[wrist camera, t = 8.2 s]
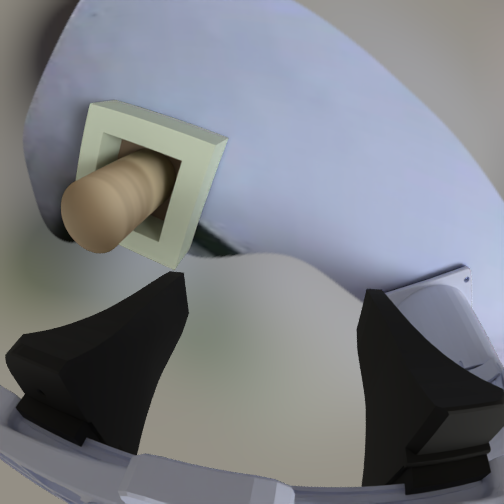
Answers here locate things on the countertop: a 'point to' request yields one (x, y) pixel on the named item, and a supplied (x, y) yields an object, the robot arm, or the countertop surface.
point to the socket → (181, 156)
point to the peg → (116, 199)
